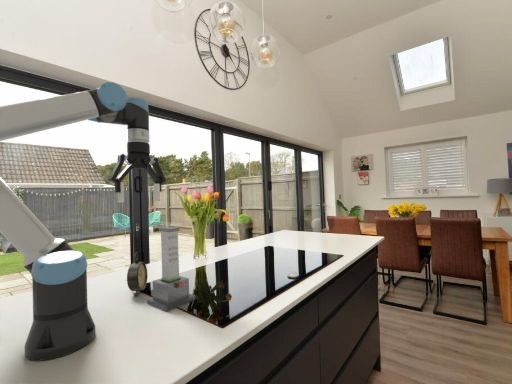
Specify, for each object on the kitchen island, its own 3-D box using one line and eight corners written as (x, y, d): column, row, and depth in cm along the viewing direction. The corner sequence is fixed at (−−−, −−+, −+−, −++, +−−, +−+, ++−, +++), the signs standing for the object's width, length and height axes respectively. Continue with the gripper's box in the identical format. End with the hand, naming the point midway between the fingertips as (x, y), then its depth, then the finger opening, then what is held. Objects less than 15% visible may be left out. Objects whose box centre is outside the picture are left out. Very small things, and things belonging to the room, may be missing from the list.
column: (170, 283, 92) (169, 228, 92) (160, 280, 96) (158, 228, 96) (181, 280, 96) (179, 227, 96) (170, 277, 100) (169, 226, 100)
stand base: (166, 311, 87) (166, 287, 87) (147, 303, 95) (146, 281, 95) (195, 299, 97) (194, 277, 97) (175, 293, 104) (174, 272, 104)
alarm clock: (139, 297, 101) (138, 255, 101) (124, 298, 101) (123, 255, 101) (148, 287, 112) (147, 249, 112) (135, 288, 112) (134, 249, 112)
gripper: (106, 135, 83) (108, 203, 83) (174, 145, 103) (175, 200, 103) (96, 139, 87) (98, 203, 87) (163, 148, 107) (164, 200, 107)
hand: (140, 201), depth 95 cm, fingers open, 13 cm apart
